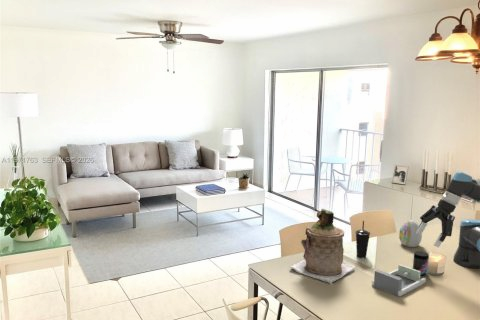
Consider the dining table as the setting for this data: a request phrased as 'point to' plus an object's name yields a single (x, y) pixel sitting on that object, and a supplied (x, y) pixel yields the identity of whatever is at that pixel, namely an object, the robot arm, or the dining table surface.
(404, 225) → the decorative egg
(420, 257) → the supplement container
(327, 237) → the cookie jar
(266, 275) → the dining table surface
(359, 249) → the drinking cup
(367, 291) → the dining table surface
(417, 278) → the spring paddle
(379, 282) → the pusher lane
